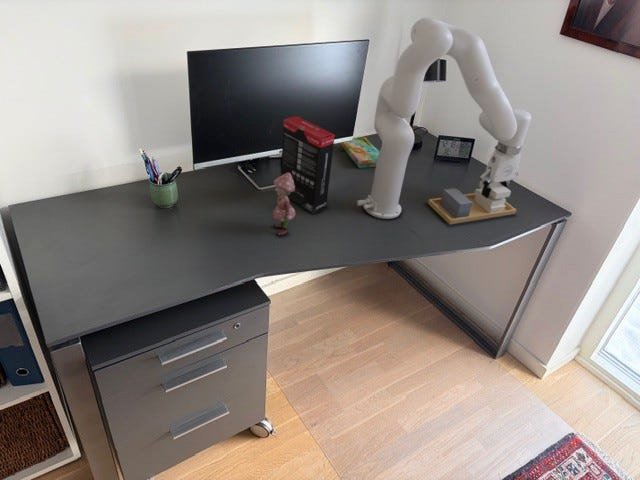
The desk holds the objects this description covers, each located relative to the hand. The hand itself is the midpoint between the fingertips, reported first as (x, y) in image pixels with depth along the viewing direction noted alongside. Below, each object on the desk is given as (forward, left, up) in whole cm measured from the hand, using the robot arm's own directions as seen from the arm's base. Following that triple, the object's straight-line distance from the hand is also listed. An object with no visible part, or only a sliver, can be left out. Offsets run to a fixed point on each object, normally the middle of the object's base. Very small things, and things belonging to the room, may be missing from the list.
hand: (492, 194), depth 173 cm
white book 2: (0, +1, -2) cm, 3 cm away
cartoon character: (-76, +4, -6) cm, 76 cm away
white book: (0, 0, -5) cm, 5 cm away
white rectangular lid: (0, 0, +1) cm, 1 cm away
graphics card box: (-64, +19, -6) cm, 67 cm away
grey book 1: (-15, 0, -2) cm, 15 cm away
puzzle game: (-29, +46, -6) cm, 54 cm away
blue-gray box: (-15, 0, -5) cm, 16 cm away
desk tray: (-8, 0, -5) cm, 9 cm away
